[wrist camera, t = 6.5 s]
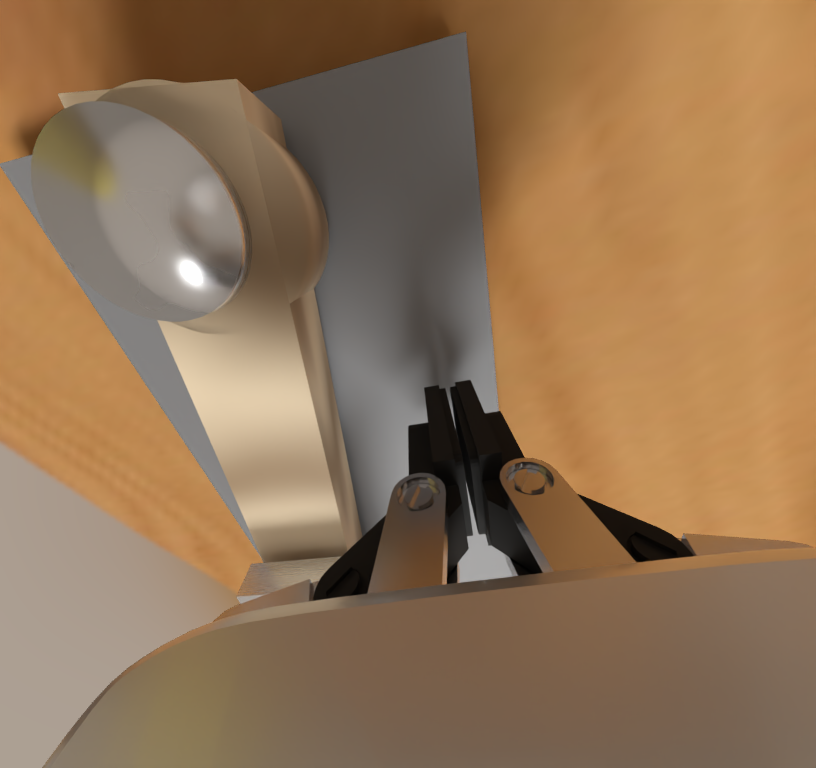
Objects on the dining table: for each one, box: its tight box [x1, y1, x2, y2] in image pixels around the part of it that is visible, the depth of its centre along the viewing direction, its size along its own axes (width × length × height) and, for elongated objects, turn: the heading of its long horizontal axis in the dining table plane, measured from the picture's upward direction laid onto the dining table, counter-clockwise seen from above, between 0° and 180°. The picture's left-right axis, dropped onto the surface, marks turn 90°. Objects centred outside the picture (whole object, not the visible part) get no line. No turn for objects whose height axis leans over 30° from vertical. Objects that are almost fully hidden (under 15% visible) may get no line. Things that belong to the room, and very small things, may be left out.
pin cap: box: [31, 101, 252, 322], centre depth 6 cm, size 4×4×1 cm
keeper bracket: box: [236, 556, 341, 604], centre depth 15 cm, size 10×5×4 cm, turn 7°
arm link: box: [58, 79, 362, 563], centre depth 11 cm, size 19×5×2 cm, turn 4°
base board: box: [0, 32, 513, 583], centre depth 14 cm, size 25×14×1 cm, turn 12°
